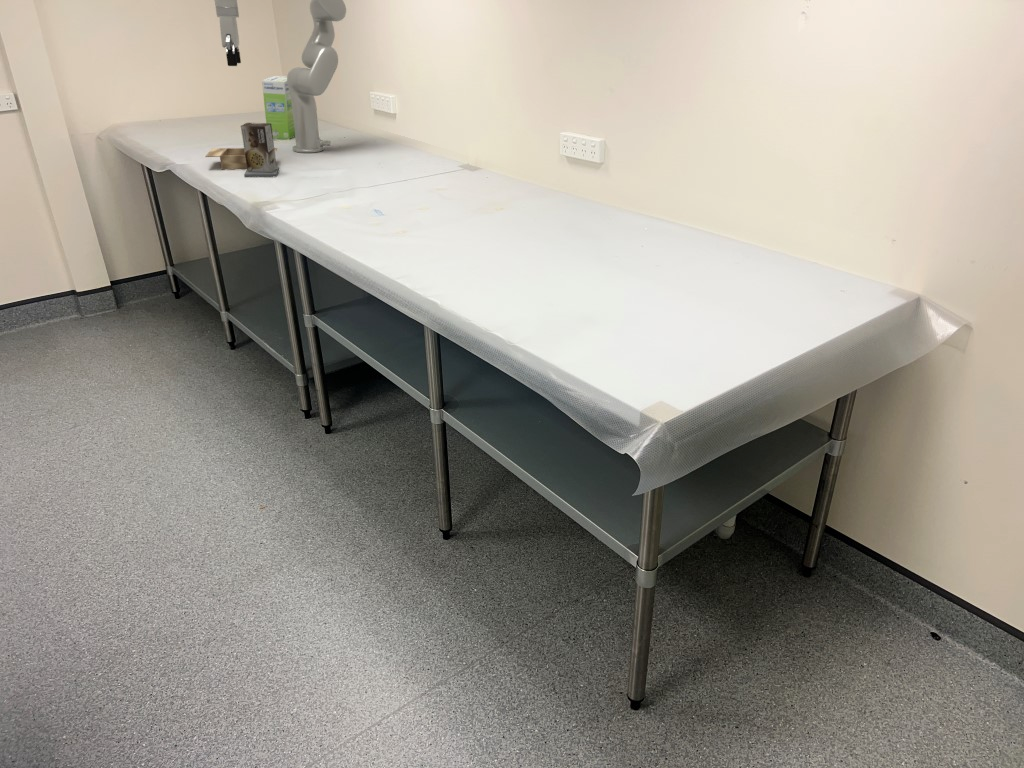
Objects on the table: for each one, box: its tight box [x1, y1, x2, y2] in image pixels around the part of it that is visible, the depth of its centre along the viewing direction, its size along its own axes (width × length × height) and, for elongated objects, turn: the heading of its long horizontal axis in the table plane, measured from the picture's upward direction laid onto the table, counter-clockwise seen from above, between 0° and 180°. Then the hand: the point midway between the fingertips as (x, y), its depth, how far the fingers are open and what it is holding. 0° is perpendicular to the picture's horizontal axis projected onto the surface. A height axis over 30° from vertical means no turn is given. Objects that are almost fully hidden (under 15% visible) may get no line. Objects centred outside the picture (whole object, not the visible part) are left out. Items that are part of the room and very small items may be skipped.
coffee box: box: [240, 122, 278, 172], centre depth 267 cm, size 9×6×16 cm
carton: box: [205, 147, 278, 170], centre depth 280 cm, size 24×14×5 cm, turn 100°
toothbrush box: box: [261, 75, 295, 140], centre depth 329 cm, size 18×10×24 cm, turn 178°
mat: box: [243, 166, 280, 178], centre depth 271 cm, size 11×12×1 cm
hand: (234, 64), depth 274 cm, fingers open, 9 cm apart
